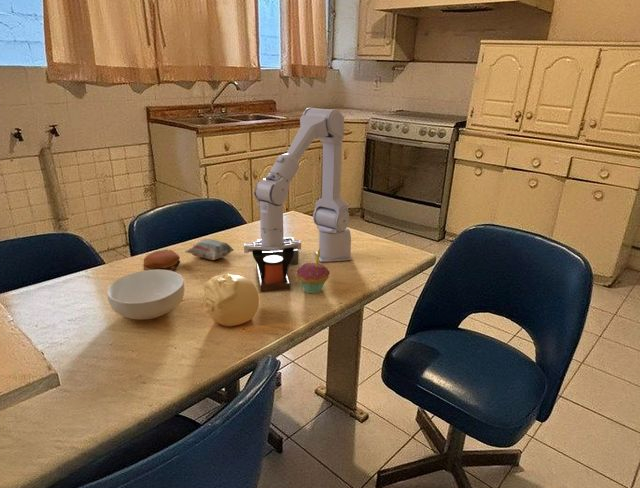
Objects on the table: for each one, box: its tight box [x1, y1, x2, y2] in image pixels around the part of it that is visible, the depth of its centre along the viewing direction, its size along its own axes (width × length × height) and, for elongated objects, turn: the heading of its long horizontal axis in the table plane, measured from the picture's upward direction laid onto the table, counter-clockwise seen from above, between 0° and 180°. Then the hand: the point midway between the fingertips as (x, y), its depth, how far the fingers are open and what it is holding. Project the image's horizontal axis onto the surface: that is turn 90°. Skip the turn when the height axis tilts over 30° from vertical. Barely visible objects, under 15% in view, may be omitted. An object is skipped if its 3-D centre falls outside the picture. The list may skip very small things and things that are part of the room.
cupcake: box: [295, 248, 331, 294], centre depth 116 cm, size 9×8×12 cm
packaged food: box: [184, 238, 235, 261], centre depth 137 cm, size 9×12×5 cm
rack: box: [256, 263, 291, 293], centre depth 123 cm, size 8×14×2 cm, turn 12°
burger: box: [143, 249, 181, 271], centre depth 128 cm, size 10×9×5 cm
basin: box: [256, 236, 299, 266], centre depth 136 cm, size 11×11×4 cm
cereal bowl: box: [106, 270, 186, 320], centre depth 105 cm, size 17×17×7 cm
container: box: [263, 255, 284, 284], centre depth 119 cm, size 5×5×7 cm
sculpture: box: [203, 272, 260, 327], centre depth 102 cm, size 12×12×11 cm
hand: (273, 275), depth 120 cm, fingers closed on container, 5 cm apart
